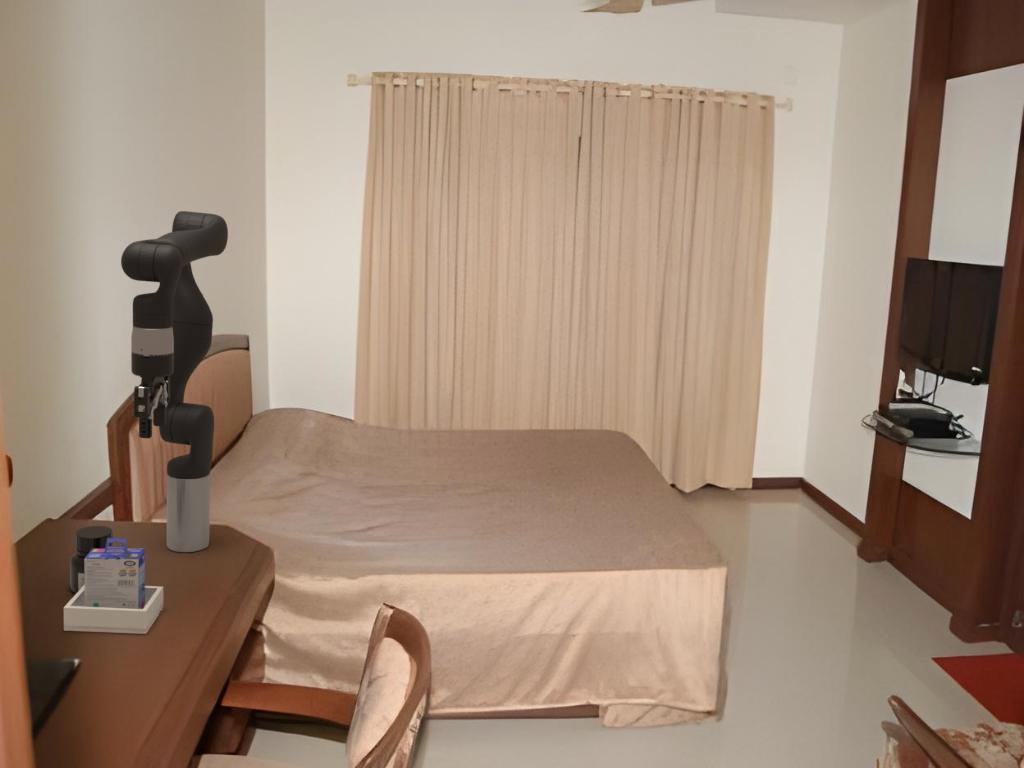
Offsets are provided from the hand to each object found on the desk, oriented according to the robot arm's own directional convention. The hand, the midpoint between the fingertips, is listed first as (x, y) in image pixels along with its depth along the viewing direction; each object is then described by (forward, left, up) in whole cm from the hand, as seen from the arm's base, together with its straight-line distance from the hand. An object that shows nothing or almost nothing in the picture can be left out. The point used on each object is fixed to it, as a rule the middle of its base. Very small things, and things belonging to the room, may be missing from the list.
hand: (152, 431), depth 178 cm
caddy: (+11, -4, -34) cm, 36 cm away
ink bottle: (-2, -12, -34) cm, 36 cm away
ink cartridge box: (+11, -4, -33) cm, 35 cm away
